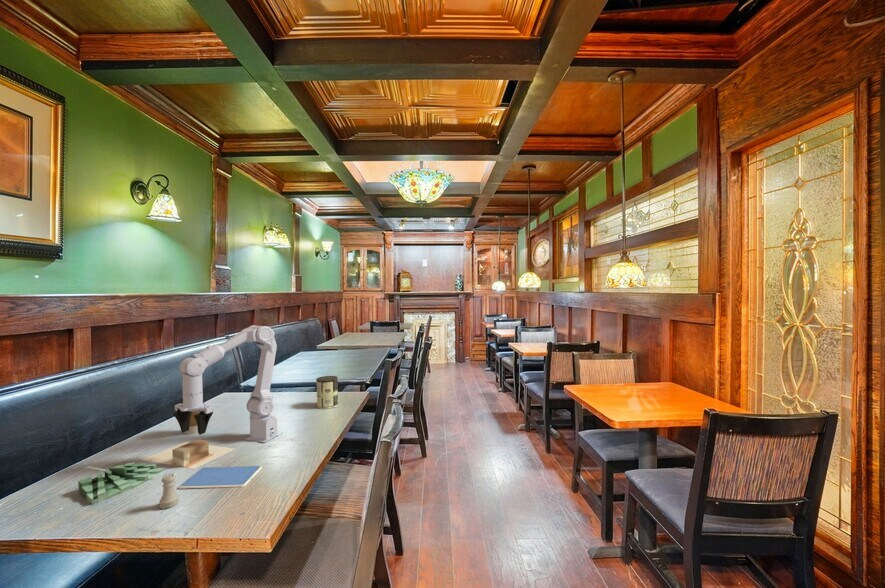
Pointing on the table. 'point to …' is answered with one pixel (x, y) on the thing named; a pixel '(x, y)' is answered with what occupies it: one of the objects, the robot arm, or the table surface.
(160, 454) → the mat
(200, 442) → the two tone block
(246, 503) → the table surface
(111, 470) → the money
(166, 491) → the rook chess piece
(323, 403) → the coffee can
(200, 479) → the tablet computer
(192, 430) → the coffee cup
